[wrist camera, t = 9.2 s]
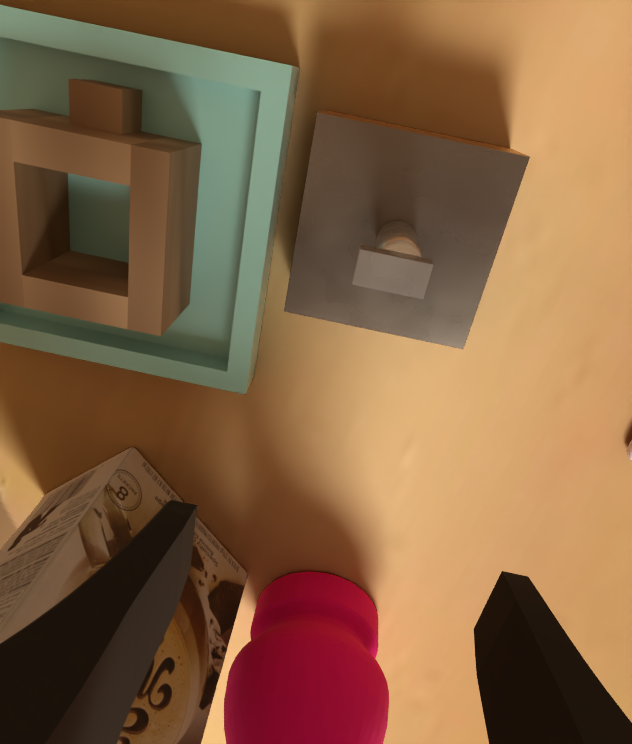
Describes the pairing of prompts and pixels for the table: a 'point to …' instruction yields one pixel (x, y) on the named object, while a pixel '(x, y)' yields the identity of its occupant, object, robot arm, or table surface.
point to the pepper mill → (309, 667)
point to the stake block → (399, 227)
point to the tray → (215, 192)
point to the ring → (51, 211)
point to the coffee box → (92, 551)
